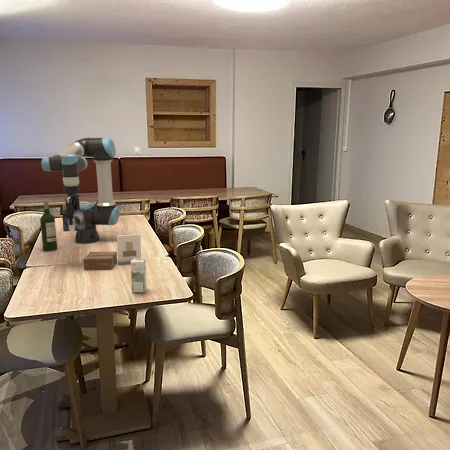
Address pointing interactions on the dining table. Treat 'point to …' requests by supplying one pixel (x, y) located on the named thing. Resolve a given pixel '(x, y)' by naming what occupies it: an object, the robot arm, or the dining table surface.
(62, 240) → the dining table surface
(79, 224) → the small box
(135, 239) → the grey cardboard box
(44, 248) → the wine bottle
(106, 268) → the walnut block
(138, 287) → the syrup box
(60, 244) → the dining table surface
